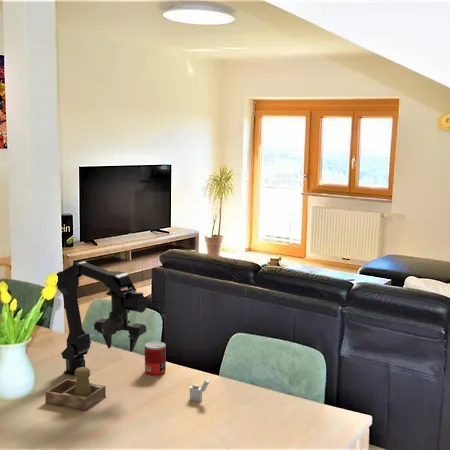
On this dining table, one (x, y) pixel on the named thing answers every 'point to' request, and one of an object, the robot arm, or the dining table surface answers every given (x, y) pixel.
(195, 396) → the lighter
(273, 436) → the dining table surface
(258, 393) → the dining table surface
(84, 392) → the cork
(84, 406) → the socket box
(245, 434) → the dining table surface
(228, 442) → the dining table surface
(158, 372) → the canned food
